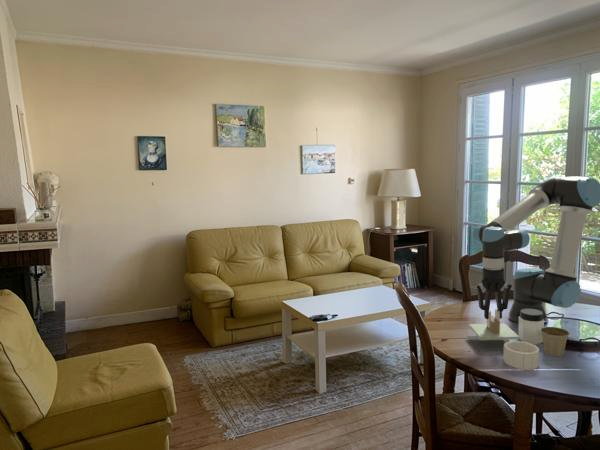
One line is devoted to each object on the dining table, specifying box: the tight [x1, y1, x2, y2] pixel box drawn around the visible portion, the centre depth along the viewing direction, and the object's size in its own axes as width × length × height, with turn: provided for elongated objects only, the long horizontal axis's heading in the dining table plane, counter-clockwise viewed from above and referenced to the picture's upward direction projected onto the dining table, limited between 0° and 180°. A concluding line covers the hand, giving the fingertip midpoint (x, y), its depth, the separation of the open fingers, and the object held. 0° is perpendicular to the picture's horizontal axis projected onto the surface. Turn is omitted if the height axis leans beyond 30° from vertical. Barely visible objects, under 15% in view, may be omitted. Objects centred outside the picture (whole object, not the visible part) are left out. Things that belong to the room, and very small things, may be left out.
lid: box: [469, 315, 520, 341], centre depth 173 cm, size 14×14×6 cm
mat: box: [466, 335, 511, 352], centre depth 173 cm, size 15×15×1 cm
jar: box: [517, 309, 545, 345], centre depth 174 cm, size 9×8×12 cm
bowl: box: [502, 340, 540, 372], centre depth 156 cm, size 11×11×6 cm
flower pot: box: [540, 326, 570, 357], centre depth 163 cm, size 9×9×9 cm
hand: (493, 326), depth 173 cm, fingers closed on lid, 2 cm apart
